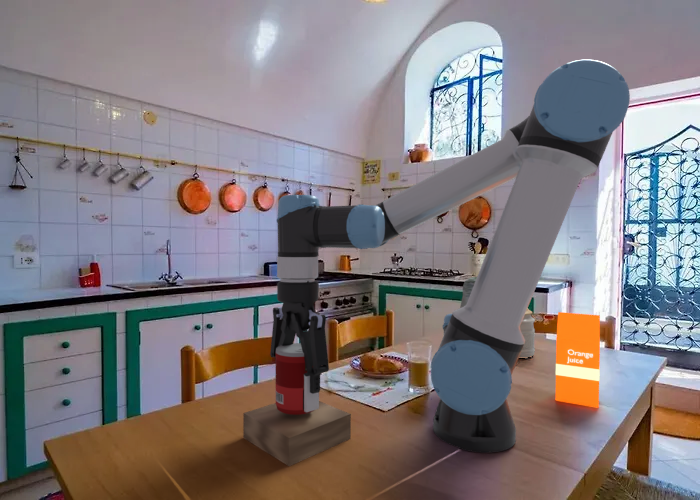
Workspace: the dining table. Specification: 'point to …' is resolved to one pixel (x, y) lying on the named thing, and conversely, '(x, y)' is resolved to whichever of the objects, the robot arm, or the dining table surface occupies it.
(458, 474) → the dining table surface
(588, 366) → the orange juice
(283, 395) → the canned food
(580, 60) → the robot arm
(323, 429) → the walnut block
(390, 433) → the dining table surface
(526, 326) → the jar
